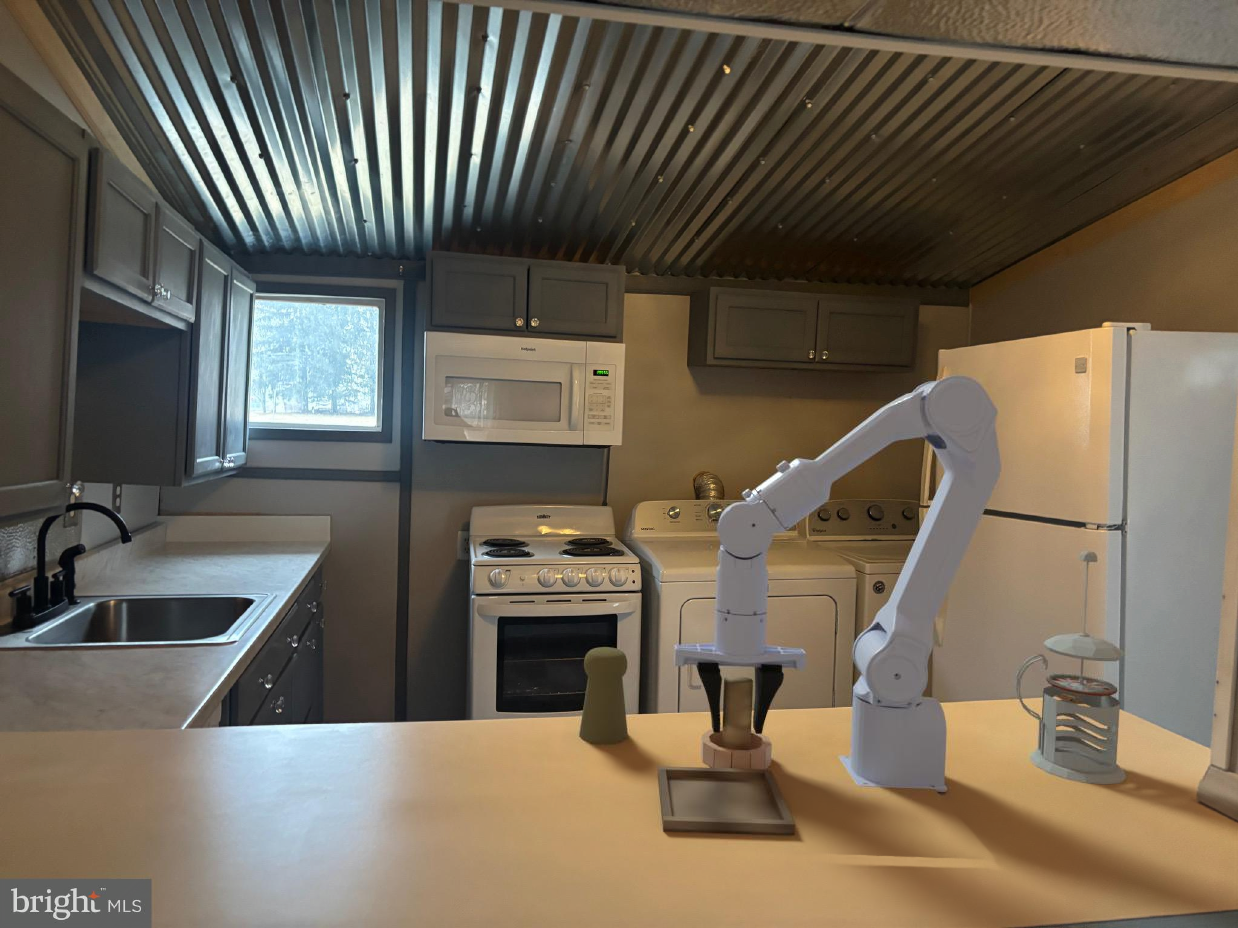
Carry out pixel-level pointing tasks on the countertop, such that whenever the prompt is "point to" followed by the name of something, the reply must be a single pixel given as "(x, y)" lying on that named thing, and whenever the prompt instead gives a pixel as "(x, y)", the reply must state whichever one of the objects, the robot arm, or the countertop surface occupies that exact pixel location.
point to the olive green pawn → (604, 697)
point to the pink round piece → (736, 752)
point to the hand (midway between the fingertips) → (736, 729)
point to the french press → (1078, 710)
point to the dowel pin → (737, 713)
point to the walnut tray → (722, 801)
